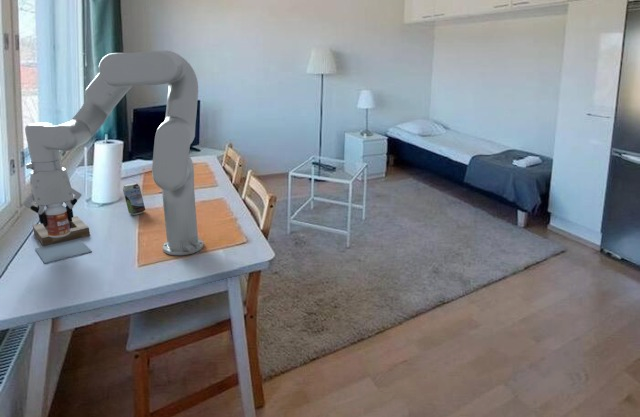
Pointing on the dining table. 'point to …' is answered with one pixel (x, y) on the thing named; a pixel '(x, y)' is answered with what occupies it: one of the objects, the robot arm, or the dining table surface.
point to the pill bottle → (57, 220)
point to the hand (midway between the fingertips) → (57, 222)
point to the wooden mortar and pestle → (77, 231)
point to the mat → (62, 250)
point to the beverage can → (133, 198)
